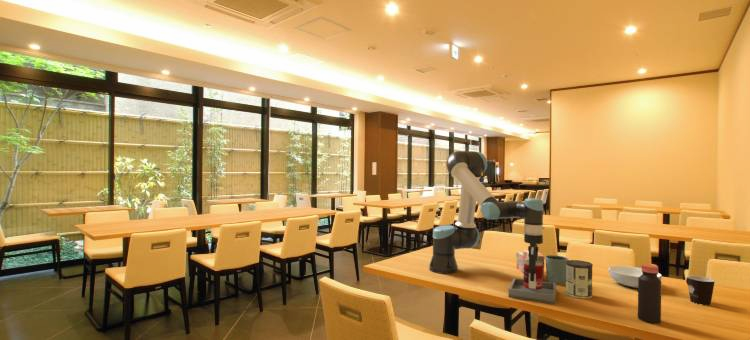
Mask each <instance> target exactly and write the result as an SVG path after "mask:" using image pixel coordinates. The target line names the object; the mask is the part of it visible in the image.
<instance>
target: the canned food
mask: <svg viewBox="0 0 750 340" xmlns="http://www.w3.org/2000/svg"><path fill="white" fill-rule="evenodd" d="M527 271H529V260H526V261H524V274H523V279H524V287H526V288H528V289H532V288H529V273H527ZM535 272H536V289H533V290H539V289H542V286H543V282H544V280H543V263H542V262H540V261H536V269H535Z"/></svg>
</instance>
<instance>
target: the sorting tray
mask: <svg viewBox="0 0 750 340" xmlns="http://www.w3.org/2000/svg"><path fill="white" fill-rule="evenodd" d="M556 293H557V284H555V283H549V282H547V281H543V286H542V289H539V290H533V289H528V288H526V287H524V278H517V277H513V278H512V281H511V283H510V285H509V287H508V298H513V299H518V300H525V301H526V300H527V301H532V302H539V303H543V304H544V303H545V304H549V305H551V304H552V305H556V296H557V294H556Z"/></svg>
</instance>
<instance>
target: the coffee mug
mask: <svg viewBox="0 0 750 340" xmlns="http://www.w3.org/2000/svg"><path fill="white" fill-rule="evenodd" d="M685 283H686V285H687V286H688V292H689V300H690V303H691V302H692V303H693V302H694V303H693V304H696V303H697V304H696V305H700V304H702V305H701V306H711V305H712V299H713V294H714V287H715V279H713V278H710V277H705V276H700V275H687V276H686V278H685Z"/></svg>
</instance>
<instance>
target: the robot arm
mask: <svg viewBox="0 0 750 340" xmlns="http://www.w3.org/2000/svg"><path fill="white" fill-rule="evenodd" d="M445 165H446V169H447V172H448V173H449V175H451V177H452V178H454V179H456V180H458V182H459V183H460V185H461V187H460V197H459V207H458V217H457V221H456V222H454V226H453V225H450V224H449V225H440V226H436V227H434V228H433V230H432V257H431V259H430V263H429V267H428V268H429V270H430V271H431V272H434V273H438V274H455V273H457V272H458V269H459V266H458V264H457V259H456V257H455V255H456V253H455V251H456V250H461V249H462V250H463V249H470V248H475V247H476V246H477V245H478V244H479V242H480V237H481V236H480V235H481V234H480V232H479V231H480V230H479V229H478V228H477V224H475V216H476V214H475V213H476V204H478V205H479V206H480V213H481V216H482V217H483V219H486V220H498V219H499V220H500V219H515V218H516V219H523V220H524V221H523V222H524V223H523V232H524V236H523V241H524V243H525V244H529V245H528V247H527V248H528V249H527V250H528V251H529V271H527V273H529V288H532V289H536V272H535V269H536V261H537V256H538V253H539V247H538V245H541V244H543V242H544V241H543V240H544V235H543V234H544V231H543V230H545V227H544V226H543V225H544V203H543V202H544V201H543V200H542V199H541V198H533V197H532V198H530V197H529V198H525V199H524V201H517V200H506V201H498V199H497V198H496V197H495V196H494V195H493V194H492V193H491V192H490V191H489V190H488V189H487V187H486V186H484V184H483V183H482V182H481V181H480V179H481V178H482V175H483V173H485V172H486V170H487V169H488V160H487V158H486V156H485V155H484V153H482V152H480V151H475V150H471V151H469V150H465V151H464V150H457V151H453V152H451V154H449V155H448V157H447V158H446V163H445Z"/></svg>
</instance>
